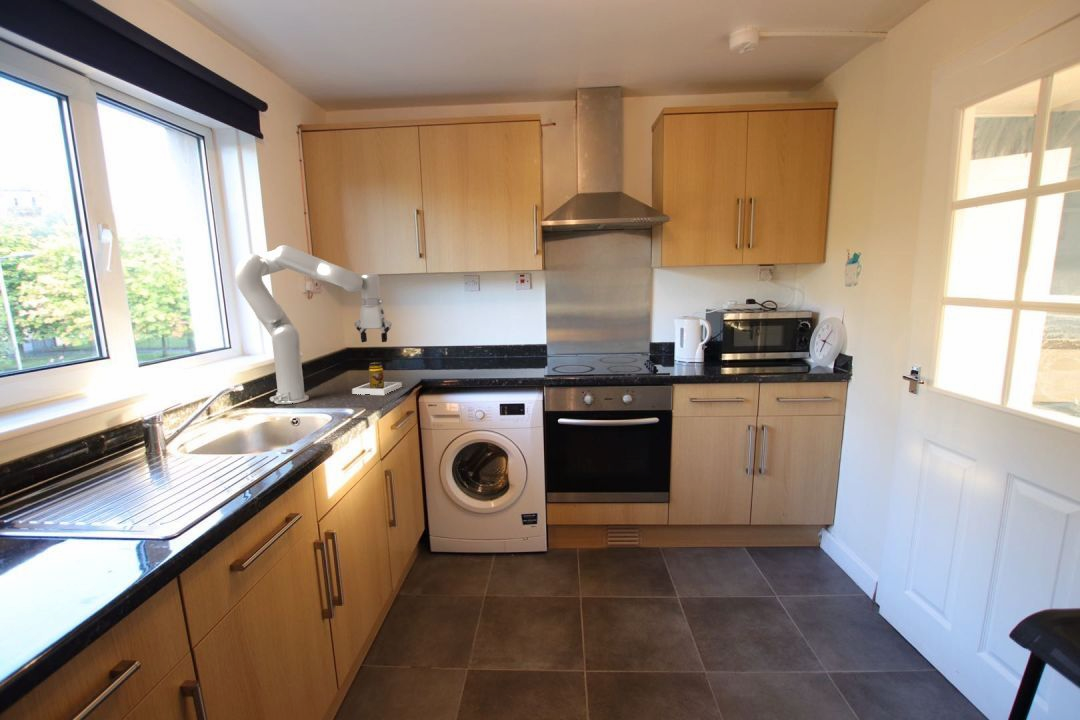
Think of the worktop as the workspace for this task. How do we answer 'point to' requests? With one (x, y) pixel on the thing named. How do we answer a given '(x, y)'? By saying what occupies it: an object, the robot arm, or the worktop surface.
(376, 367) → the condiment
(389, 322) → the robot arm
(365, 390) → the housing
